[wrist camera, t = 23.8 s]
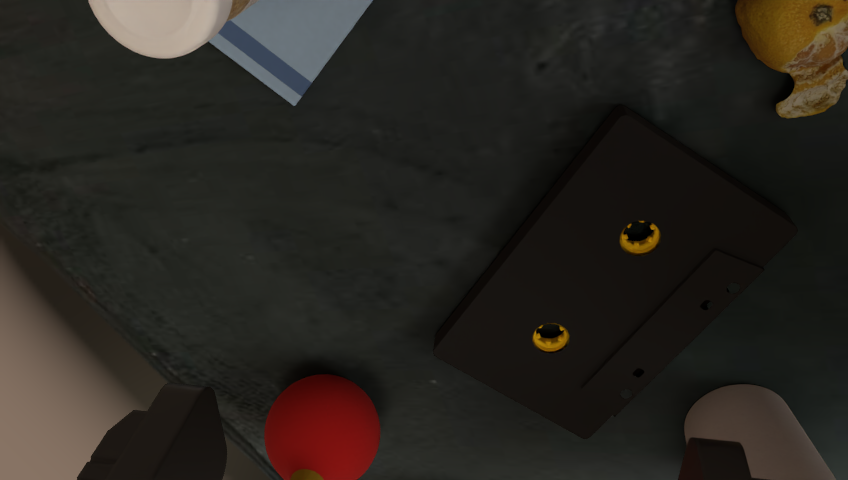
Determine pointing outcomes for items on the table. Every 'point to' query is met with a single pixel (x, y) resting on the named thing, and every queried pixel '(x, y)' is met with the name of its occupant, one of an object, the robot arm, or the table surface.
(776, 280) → the table surface
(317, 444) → the christmas ornament
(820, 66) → the fruit
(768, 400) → the coffee cup
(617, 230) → the cassette tape
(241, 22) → the cloth
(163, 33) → the sprinkles bottle
